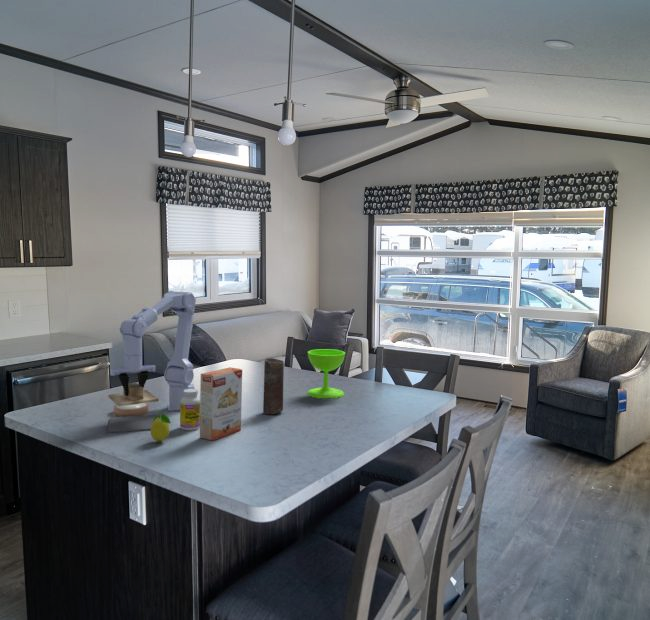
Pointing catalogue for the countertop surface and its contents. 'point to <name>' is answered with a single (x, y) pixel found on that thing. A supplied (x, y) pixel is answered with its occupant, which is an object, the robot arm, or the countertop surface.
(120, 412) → the terracotta dish
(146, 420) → the charcoal mat
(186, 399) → the supplement bottle
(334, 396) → the wineglass
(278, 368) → the candle
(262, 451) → the countertop surface
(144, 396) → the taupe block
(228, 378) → the cracker box
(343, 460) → the countertop surface
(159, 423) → the lemon
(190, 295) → the robot arm
